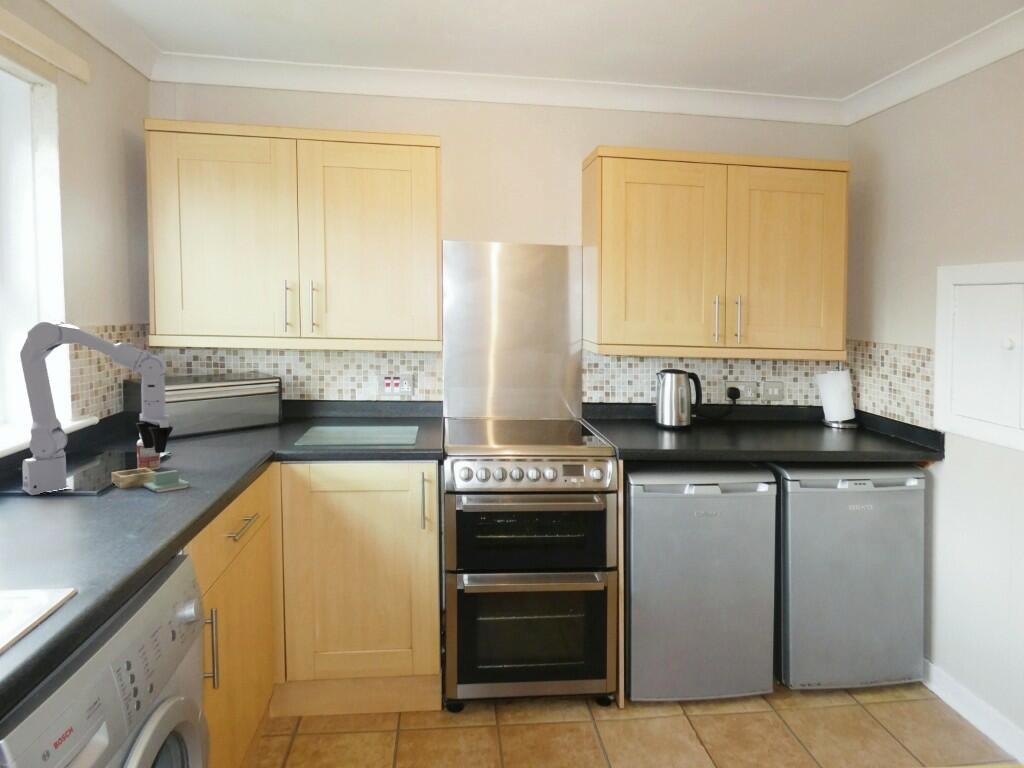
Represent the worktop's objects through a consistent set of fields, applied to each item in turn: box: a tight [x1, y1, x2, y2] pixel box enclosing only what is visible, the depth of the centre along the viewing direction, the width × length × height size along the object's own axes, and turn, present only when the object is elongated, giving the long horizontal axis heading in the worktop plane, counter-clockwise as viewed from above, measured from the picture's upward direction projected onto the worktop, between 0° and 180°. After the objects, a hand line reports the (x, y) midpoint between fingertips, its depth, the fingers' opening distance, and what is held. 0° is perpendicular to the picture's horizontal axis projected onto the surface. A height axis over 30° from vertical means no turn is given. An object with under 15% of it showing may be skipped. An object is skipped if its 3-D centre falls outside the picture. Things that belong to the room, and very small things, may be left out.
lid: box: [142, 469, 190, 492], centre depth 199 cm, size 9×7×4 cm
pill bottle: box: [136, 432, 161, 471], centre depth 219 cm, size 6×6×11 cm
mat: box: [154, 485, 189, 493], centre depth 200 cm, size 8×8×1 cm
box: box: [111, 468, 157, 490], centre depth 202 cm, size 9×7×3 cm
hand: (154, 450), depth 199 cm, fingers open, 7 cm apart
